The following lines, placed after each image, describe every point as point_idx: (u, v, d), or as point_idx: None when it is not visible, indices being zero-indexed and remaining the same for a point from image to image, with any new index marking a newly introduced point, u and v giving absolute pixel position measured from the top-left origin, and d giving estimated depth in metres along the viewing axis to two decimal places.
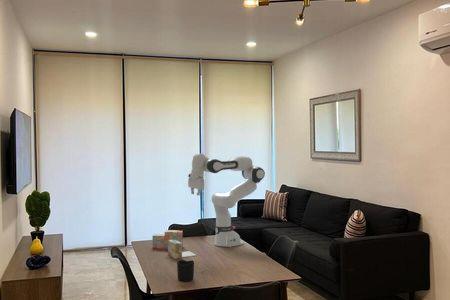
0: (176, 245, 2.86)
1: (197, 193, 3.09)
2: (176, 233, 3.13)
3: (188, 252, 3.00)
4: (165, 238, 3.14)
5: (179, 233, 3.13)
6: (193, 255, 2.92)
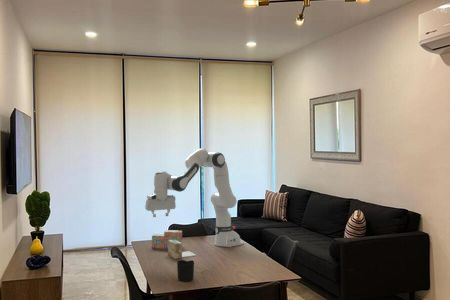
0: (176, 245, 2.86)
1: None
2: (175, 233, 3.13)
3: (188, 252, 3.00)
4: (164, 238, 3.14)
5: (178, 233, 3.13)
6: (193, 255, 2.92)
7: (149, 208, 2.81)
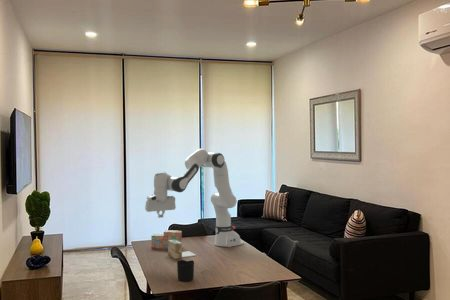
0: (176, 245, 2.86)
1: (162, 215, 2.87)
2: (175, 233, 3.13)
3: (188, 252, 3.00)
4: (163, 238, 3.14)
5: (178, 233, 3.13)
6: (193, 255, 2.92)
7: (149, 209, 2.81)
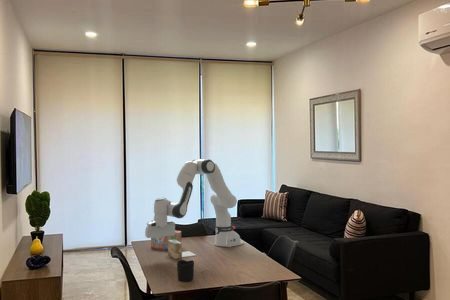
0: (176, 245, 2.86)
1: (162, 241, 2.87)
2: None
3: (188, 252, 3.00)
4: None
5: (177, 233, 3.12)
6: (193, 255, 2.92)
7: (149, 235, 2.81)
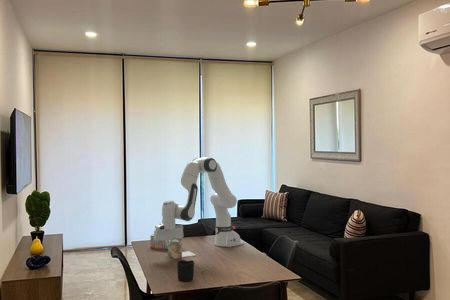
0: (176, 245, 2.86)
1: (170, 244, 2.90)
2: None
3: (188, 252, 3.00)
4: None
5: None
6: (193, 255, 2.92)
7: (157, 238, 2.84)
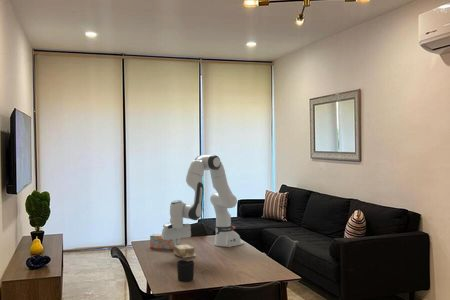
0: (192, 249, 2.92)
1: (178, 243, 2.92)
2: None
3: None
4: (162, 239, 3.14)
5: None
6: (193, 255, 2.92)
7: (165, 237, 2.87)
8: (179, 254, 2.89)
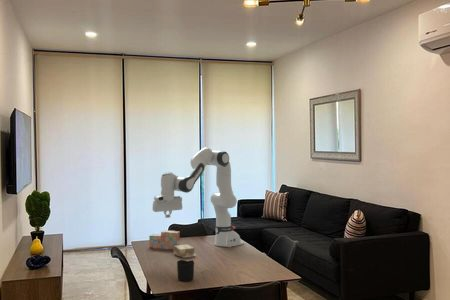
0: (192, 249, 2.92)
1: (169, 215, 2.89)
2: (172, 234, 3.12)
3: None
4: (161, 239, 3.13)
5: (175, 234, 3.11)
6: (193, 255, 2.92)
7: (156, 209, 2.83)
8: (179, 254, 2.89)
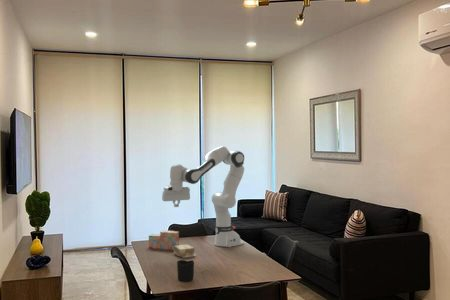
0: (192, 249, 2.92)
1: (178, 204, 3.07)
2: (171, 234, 3.11)
3: None
4: (160, 239, 3.13)
5: (174, 234, 3.11)
6: (193, 255, 2.92)
7: (166, 199, 3.02)
8: (179, 254, 2.89)
